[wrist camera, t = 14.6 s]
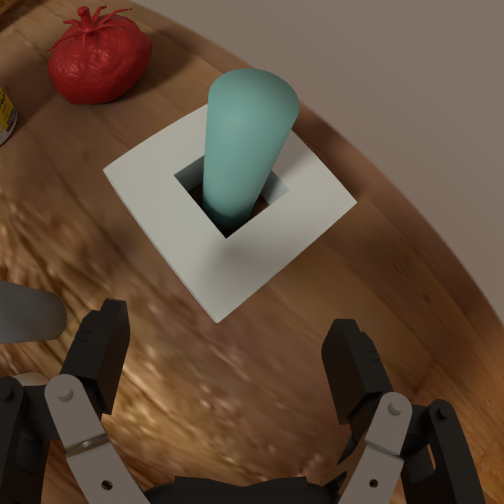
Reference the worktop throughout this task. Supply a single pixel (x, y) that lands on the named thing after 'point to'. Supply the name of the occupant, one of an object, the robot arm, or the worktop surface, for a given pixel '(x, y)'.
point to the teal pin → (243, 141)
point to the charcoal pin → (29, 314)
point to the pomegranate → (98, 57)
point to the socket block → (205, 232)
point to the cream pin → (31, 379)
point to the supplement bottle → (6, 116)
